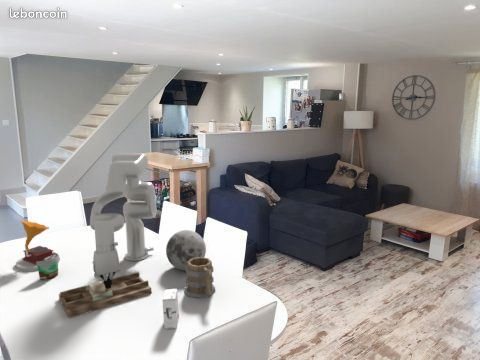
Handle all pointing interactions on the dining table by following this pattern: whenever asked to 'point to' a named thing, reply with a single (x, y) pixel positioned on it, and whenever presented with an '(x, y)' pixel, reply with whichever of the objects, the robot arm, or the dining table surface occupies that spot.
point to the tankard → (199, 277)
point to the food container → (48, 267)
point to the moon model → (184, 248)
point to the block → (96, 288)
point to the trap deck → (103, 295)
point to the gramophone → (34, 253)
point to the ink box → (170, 308)
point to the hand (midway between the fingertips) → (108, 287)
